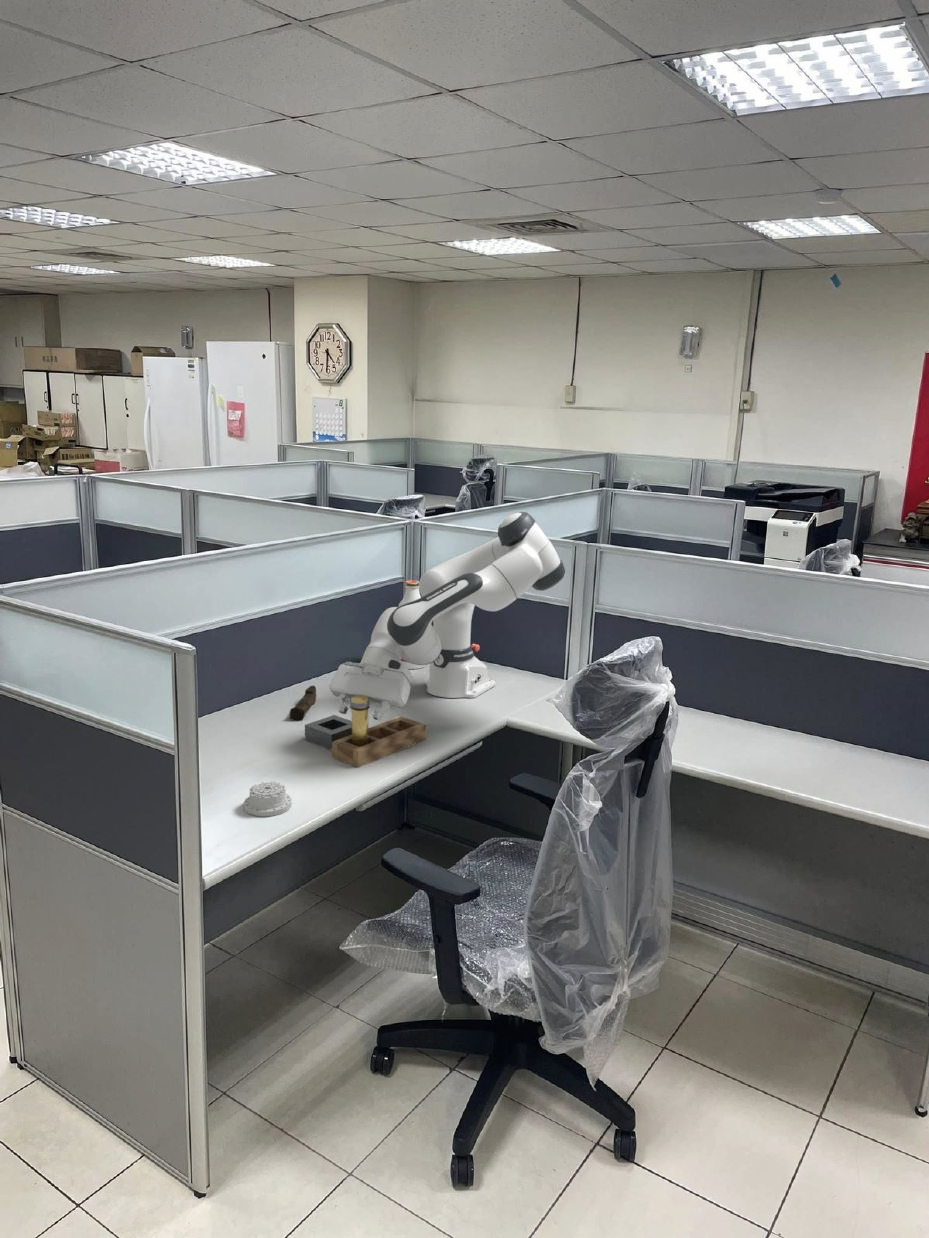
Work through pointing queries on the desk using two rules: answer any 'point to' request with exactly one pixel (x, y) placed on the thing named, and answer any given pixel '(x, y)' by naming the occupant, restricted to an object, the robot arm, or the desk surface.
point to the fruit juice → (410, 595)
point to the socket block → (328, 730)
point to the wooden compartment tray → (380, 741)
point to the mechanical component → (267, 799)
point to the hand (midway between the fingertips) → (358, 715)
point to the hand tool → (304, 704)
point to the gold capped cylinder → (359, 720)
